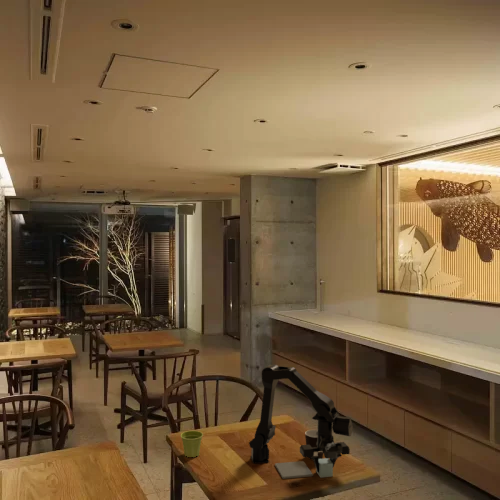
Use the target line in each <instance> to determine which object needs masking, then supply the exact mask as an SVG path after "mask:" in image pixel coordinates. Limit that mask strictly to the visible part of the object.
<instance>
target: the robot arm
mask: <svg viewBox="0 0 500 500" xmlns="http://www.w3.org/2000/svg"><path fill="white" fill-rule="evenodd" d="M285 379H287V380H288V381H290V382H291V383H292V384H293V385H294V386H295V387H296V388H297V389H298V390H299V391H300V392H301V393H302V394H303V395H304V396H305V397H306V398H307V399H308V400H309V402H310V403H311V405H312V406H311V407H313V409H314V411H316V413H315V414H314V416H312V418H311V419H312V420H315V421H317V429H316V430H317V433H316V434H317V442H316V445H317V447H313V448H312V447H311V446H310V445H306V444H301V445H300V447H299V453H300V454H301V456H302V457H303V458H306V459H307V458H308V457H311V458H312V459H313V460H312V461H313V464H314V468H315V471H316V470H317V472H319V461H318V460H319V457H318V452H323V457H324V458H329V460H330V461H331V462H332V463H333V468H334V466H335V464H336V462H337V460H338V459H339V458H340V457H342V456H343V455H344V456H345V455H350V453H351V451H350V446H349V445H348V444H346V443H345V441H338V442H337V441H336V442H335V440H334V439H335V438H334V435H333V434H335V435H340V436H346V437H351V436H352V433H353V422H352V418H351V417H349V416H340V413H339V411H338V409H337V408H336V407H335V403H334V400H333V399H332V398H330V397H329V396H327V395H326V394H324V393H323V392H320V391H318V390H317V389H316V388H315V387H314V386H313V385H312V384H311V383H310V382H309V381H308V380H307V379H306V378H305V377H303V375H302V374H301V373H300V372H299V371H297V369H296V368H295V367H294V366H289V367H288V366H284V365H277V364H276V363H275V364H270V365H267V366H266V367H264V368H263V369H262V371H261V382H262V385H263V394H262V400H261V401H262V403H261V410H260V411H261V412H260V419H259V423H258V425H257V427H256V429H255V433H254V438H252V439H251V440H250V441H249V442H248V444H249V447H250V449H251V452H250V453H251V455H250V456H249V457H250V460H251V462H252V464H264V463H269V462H270V461H269V460H270V449H269V447H268V444H269V442H270V441H271V440H272V439H273V437H274V436H275V435H276V427H277V425H274V424H273V421H272V419H273V412H274V411H273V409H274V401H275V393H276V392H275V391H276V388H277V387H276V386H277V385H278V382H279V380H285ZM317 472H316V473H317Z"/></svg>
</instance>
